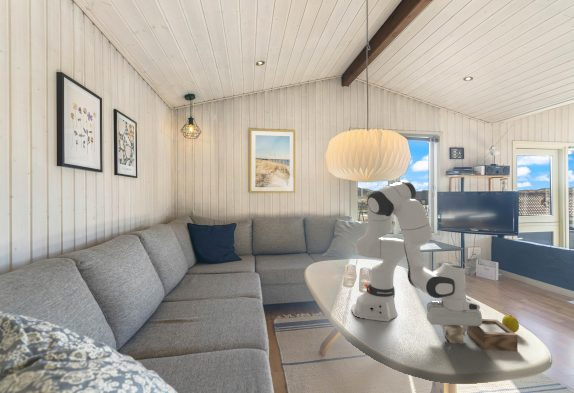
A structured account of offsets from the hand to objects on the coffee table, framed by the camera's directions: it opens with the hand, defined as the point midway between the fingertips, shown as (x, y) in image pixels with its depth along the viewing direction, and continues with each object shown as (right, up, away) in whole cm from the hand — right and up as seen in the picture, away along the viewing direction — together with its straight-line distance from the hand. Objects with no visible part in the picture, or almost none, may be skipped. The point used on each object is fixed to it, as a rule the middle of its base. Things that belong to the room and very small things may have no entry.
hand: (453, 334), depth 108 cm
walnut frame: (+14, -2, -2) cm, 14 cm away
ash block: (0, -2, 0) cm, 2 cm away
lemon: (+27, -1, +3) cm, 27 cm away
